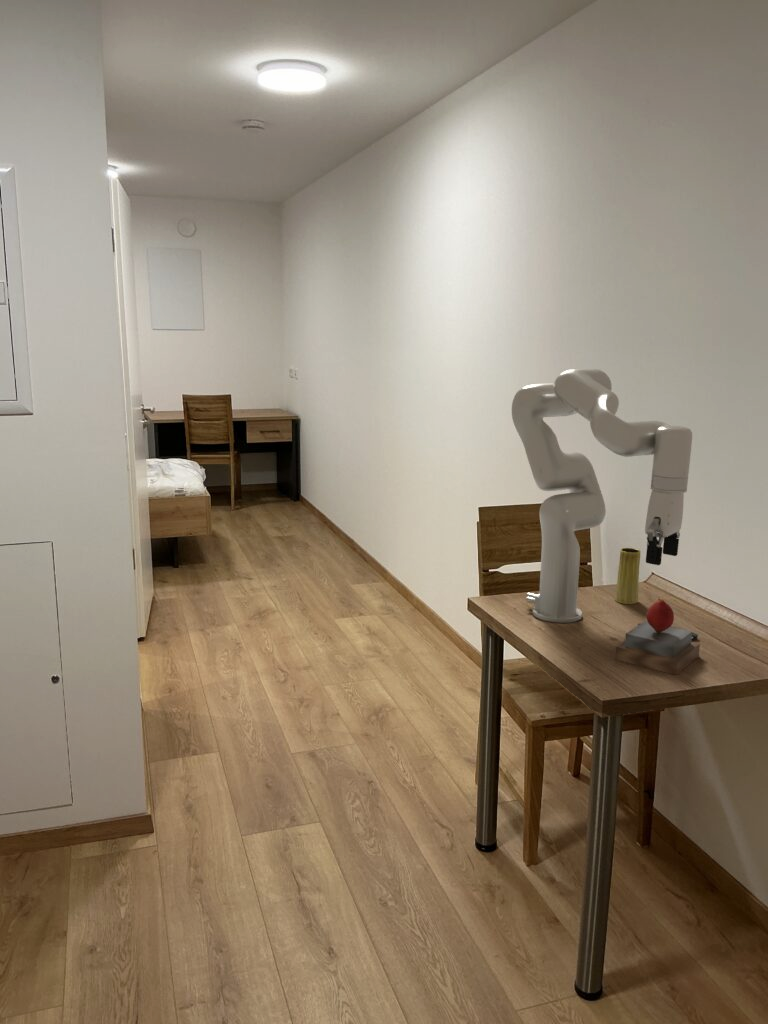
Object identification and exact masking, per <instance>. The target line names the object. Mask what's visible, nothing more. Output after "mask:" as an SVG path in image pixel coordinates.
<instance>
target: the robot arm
mask: <svg viewBox="0 0 768 1024" xmlns="http://www.w3.org/2000/svg"><path fill="white" fill-rule="evenodd" d="M612 386H613V385H612V381H611V379H610V377H609V376H608V374H607V373H606V372H605V371H603V370H601V369H597V368H580V369H579V368H578V369H577V368H573V369H568V370H565V371H563V372H561V373H559V374H558V376H557V377H556V378H555V380H554V383H535V384H529V385H526V386H523V387H521V388H520V389H518V391H517V392H515V394H514V397H513V399H512V402H511V417H512V423H513V424H514V427H515V429H516V432H517V433H518V436H519V439H520V441H521V442H522V444H523V447H524V450H525V454H526V458H527V461H528V463H529V467H530V470H531V475H532V476H533V479H534V482H535V484H536V486H537V487H538V488H539V490H541V491H543V492H557V491H558V492H559V491H569V492H568V493H561V494H560V493H559V494H554V495H550V496H549V497H547V498H546V499H544V500H543V501H542V502H541V504H540V507H539V515H538V516H539V521H540V523H539V524H540V530H541V554H540V555H541V557H540V572H539V573H540V577H539V593H538V594H536V593H533V592H527V593H526V596H525V597H526V599H525V600H526V602H527V603H530V604H534V606H533V607H532V611H531V612H532V615H533V616H534V617H535V618H537V619H540V620H543V621H546V622H551V623H561V624H562V623H573V622H577V621H579V620H581V619H582V618H583V612H582V610H581V609H580V608H578V607H577V606H578V605H577V604H578V590H579V576H580V575H579V574H580V572H579V571H580V560H581V559H580V558H581V557H580V556H581V555H580V553H581V549H580V544H579V541H578V539H577V537H576V535H575V531H580V530H587V529H592V528H596V527H598V526H600V525H601V524H602V523H603V521H604V519H605V516H606V512H607V511H606V503H605V501H604V497H603V494H602V490H601V487H600V484H599V482H598V478H597V475H596V473H595V469H594V467H593V464H592V463H591V460H590V459H589V458H588V457H587V456H586V455H584V454H582V453H580V452H577V451H569V452H563V451H562V449H561V447H560V445H559V441H558V438H557V435H556V433H555V432H554V431H553V429H552V427H551V426H550V425H548V424H547V423H546V422H545V421H544V418H556V417H568V416H572V415H576V414H578V415H580V416H581V417H583V418H584V419H585V420H587V421H588V422H589V424H590V429H591V432H592V434H593V436H594V438H595V439H596V441H598V443H600V444H601V445H602V446H604V447H605V448H607V449H608V450H609V451H611V452H612V453H614V454H616V455H618V456H621V457H627V458H628V457H629V458H631V457H639V456H640V457H641V456H653V459H652V460H653V461H652V470H651V481H650V482H651V483H650V490H651V493H650V497H649V500H648V501H649V502H648V506H647V512H646V519H645V527H644V534H645V535H647V536H646V540H647V541H646V552H645V553H646V555H645V563H646V564H651V565H655V566H660V565H661V564H662V556H663V555H666V556H673V557H677V555H678V553H679V551H678V550H679V544H680V543H679V541H680V539H679V538H680V536H681V533H680V531H681V528H682V524H683V523H682V522H683V515H684V513H683V512H684V496H685V495H684V494H685V493H687V492H688V481H689V474H690V473H689V472H690V464H691V463H690V462H691V453H692V443H693V432H692V430H691V429H690V428H689V427H685V426H680V425H671V424H668V423H666V422H664V421H663V422H662V421H659V420H647V421H646V420H644V421H628V422H627V421H625V420H622V419H621V418H620V417H619V416H617V415H616V414H617V412H618V409H619V404H620V403H619V402H620V401H619V398H618V395H617V394H616V393H614V392H613V391H612V389H613V388H612Z"/></svg>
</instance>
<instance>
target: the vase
mask: <svg viewBox="0 0 768 1024" xmlns="http://www.w3.org/2000/svg"><path fill="white" fill-rule="evenodd" d="M640 561H641V550H640V549H637V548H634V547H633V548H632V547H622V548H620V554H619V562H618V563H619V564H618V571H617V581H616V591H615V597H614V600H615V602H617V603H619V604H623V605H636V604H637V603H639V581H640V580H639V579H640V576H639V575H640Z"/></svg>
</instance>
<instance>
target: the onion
mask: <svg viewBox="0 0 768 1024" xmlns="http://www.w3.org/2000/svg"><path fill="white" fill-rule="evenodd" d="M657 600H658V601H657V602H654V603H653V604H652V605H650V607H649V608H648V609H647V612H646V621H647V622H648V623H649V625H650V626H651V627H652V628H653V629H654V630H655V631H656V632H658V633H660V632H662V631H664V630H666V629H668V628H669V627H670V626H672V625H673V623H674V621H675V620H674V619H675V614H674V611H673V609H672V607H671V606H670V605H669V604H668V602H666V601H665V600H664V598H662V597H660V598H657Z"/></svg>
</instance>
